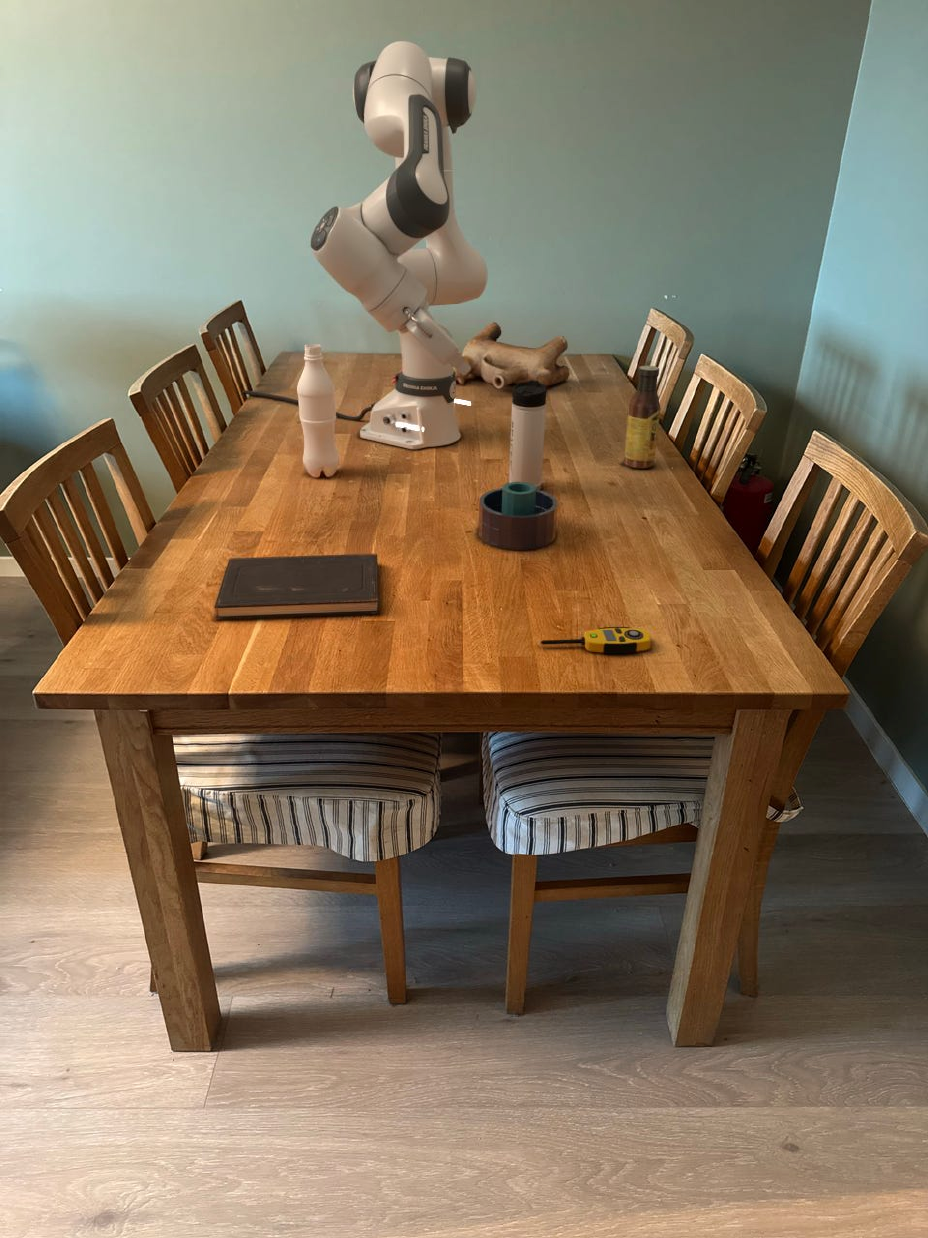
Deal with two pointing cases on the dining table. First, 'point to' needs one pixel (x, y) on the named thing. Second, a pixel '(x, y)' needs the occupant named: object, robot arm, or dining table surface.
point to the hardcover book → (299, 586)
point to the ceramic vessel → (512, 360)
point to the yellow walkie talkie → (611, 640)
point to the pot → (517, 522)
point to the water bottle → (317, 415)
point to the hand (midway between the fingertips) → (461, 363)
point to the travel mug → (527, 433)
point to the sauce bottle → (643, 420)
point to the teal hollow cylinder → (518, 498)
